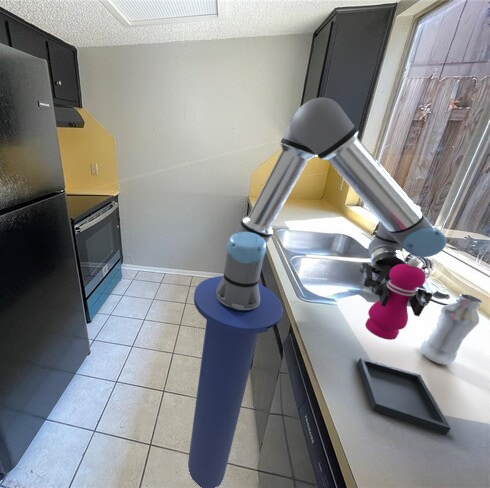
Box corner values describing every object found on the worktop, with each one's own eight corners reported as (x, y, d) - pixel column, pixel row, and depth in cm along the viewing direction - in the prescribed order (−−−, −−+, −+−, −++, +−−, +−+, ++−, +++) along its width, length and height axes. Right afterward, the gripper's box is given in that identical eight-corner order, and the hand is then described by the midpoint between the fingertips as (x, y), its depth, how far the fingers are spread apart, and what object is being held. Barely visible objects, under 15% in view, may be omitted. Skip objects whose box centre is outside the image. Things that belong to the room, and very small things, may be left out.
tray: (357, 363, 68) (359, 357, 67) (416, 380, 64) (420, 374, 63) (372, 409, 57) (376, 403, 56) (446, 434, 52) (451, 428, 52)
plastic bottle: (438, 370, 67) (479, 308, 59) (411, 350, 73) (444, 291, 65) (457, 366, 69) (499, 305, 60) (428, 347, 75) (463, 289, 66)
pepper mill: (378, 319, 68) (411, 251, 60) (406, 339, 61) (447, 266, 53) (355, 322, 67) (385, 253, 58) (381, 343, 60) (419, 268, 52)
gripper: (424, 285, 71) (451, 336, 53) (346, 266, 79) (347, 304, 61) (437, 261, 68) (470, 307, 50) (355, 244, 76) (357, 277, 58)
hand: (402, 305), depth 56 cm, fingers closed on pepper mill, 5 cm apart
